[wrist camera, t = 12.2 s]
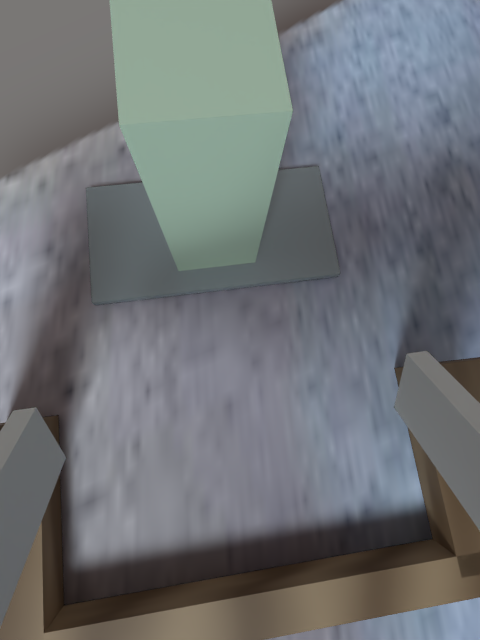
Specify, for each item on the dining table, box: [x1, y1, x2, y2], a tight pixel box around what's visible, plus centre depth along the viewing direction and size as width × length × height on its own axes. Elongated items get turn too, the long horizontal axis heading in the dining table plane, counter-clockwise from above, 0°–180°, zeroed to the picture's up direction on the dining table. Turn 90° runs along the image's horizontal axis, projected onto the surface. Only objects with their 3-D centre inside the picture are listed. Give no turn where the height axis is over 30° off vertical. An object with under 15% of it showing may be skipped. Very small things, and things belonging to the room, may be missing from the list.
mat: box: [86, 166, 341, 305], centre depth 22 cm, size 16×8×1 cm, turn 98°
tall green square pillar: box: [110, 0, 293, 271], centre depth 16 cm, size 5×5×12 cm
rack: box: [0, 357, 480, 640], centre depth 11 cm, size 27×12×16 cm, turn 98°
